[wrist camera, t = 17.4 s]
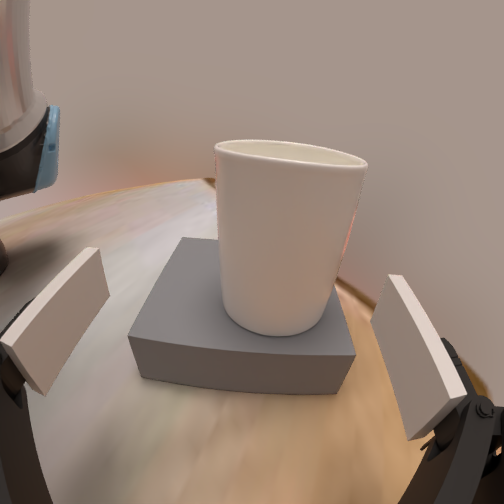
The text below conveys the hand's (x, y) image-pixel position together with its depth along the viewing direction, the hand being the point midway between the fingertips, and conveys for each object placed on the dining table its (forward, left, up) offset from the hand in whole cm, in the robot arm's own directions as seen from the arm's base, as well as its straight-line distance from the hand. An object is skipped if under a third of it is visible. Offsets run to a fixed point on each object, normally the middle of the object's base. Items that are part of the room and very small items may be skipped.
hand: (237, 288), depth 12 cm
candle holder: (-5, +7, -7) cm, 11 cm away
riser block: (-8, +7, -12) cm, 16 cm away
